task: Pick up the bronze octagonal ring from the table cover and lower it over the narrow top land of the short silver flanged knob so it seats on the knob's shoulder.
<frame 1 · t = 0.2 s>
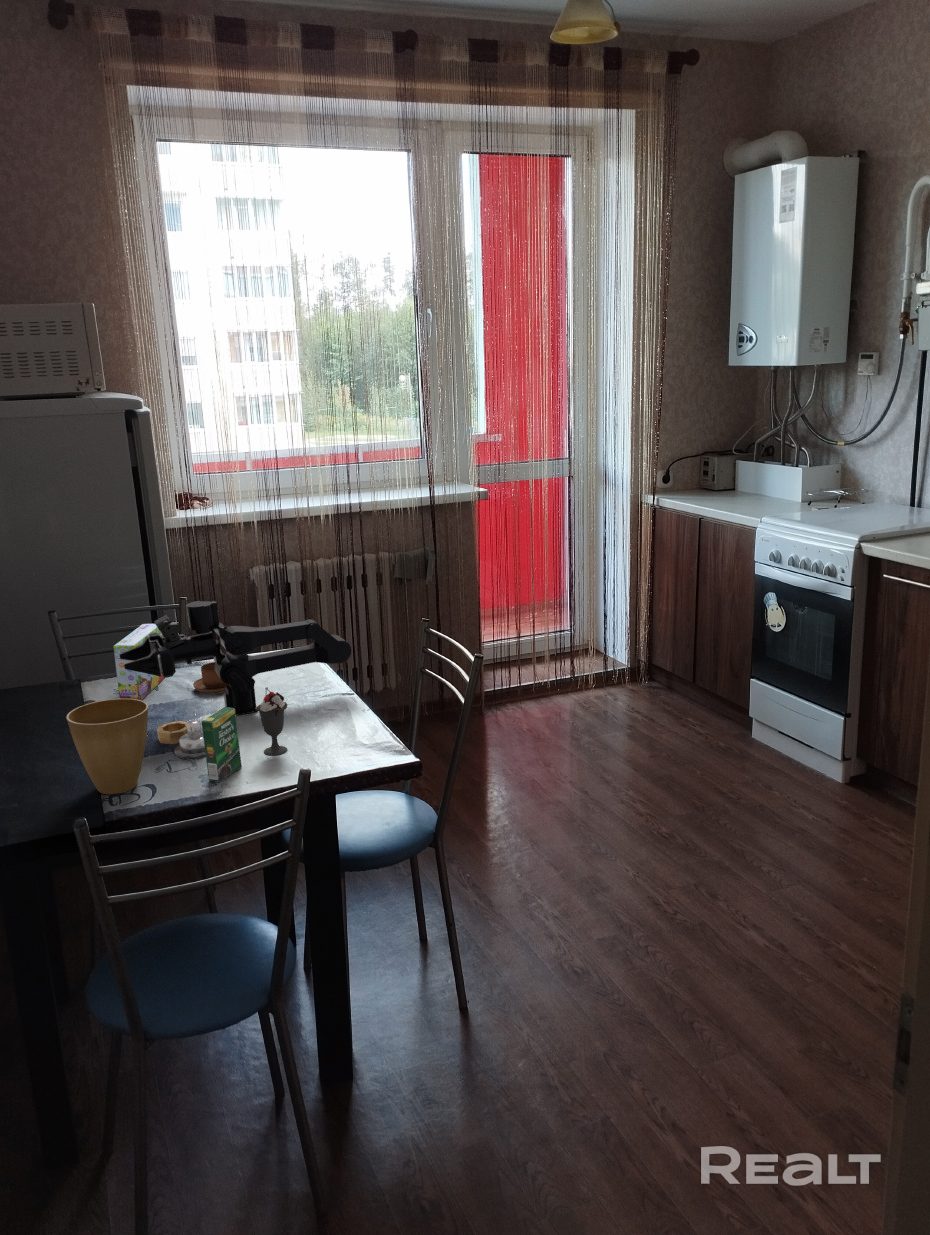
hand: (122, 661, 215), 17 cm above the table, tool horizontal, fingers open, 9 cm apart
snack box: (145, 690, 247), on the table
plant pot: (118, 787, 190), on the table
ring: (175, 737, 214), on the table
sundae: (275, 751, 204), on the table
coffee box: (225, 775, 193), on the table
cup and saucer: (218, 689, 246), on the table
silver flanged knob: (196, 750, 206), on the table
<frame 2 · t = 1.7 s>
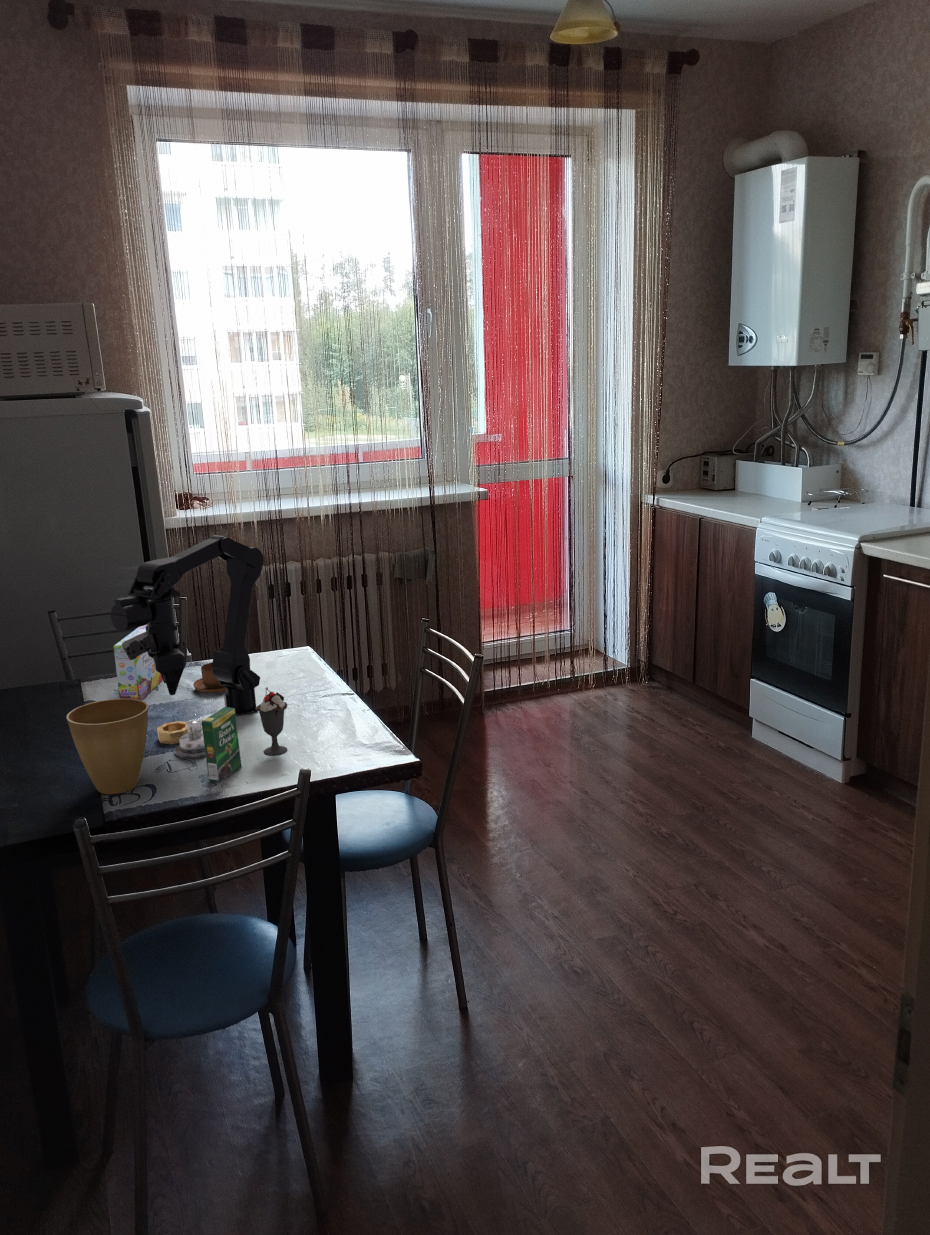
hand: (169, 688, 211), 11 cm above the table, tool pointing down, fingers open, 9 cm apart
nothing on the table moved.
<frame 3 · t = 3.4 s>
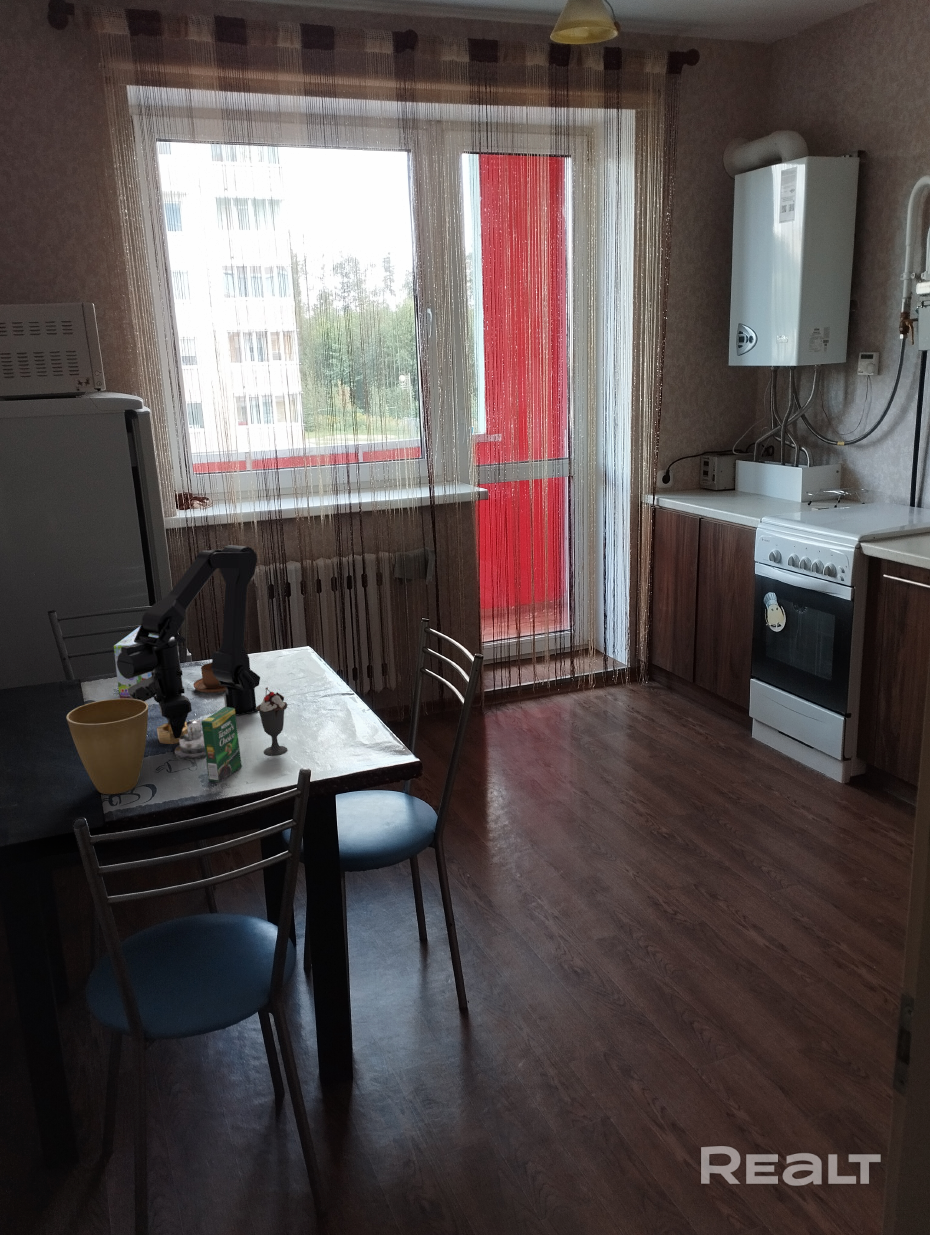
hand: (174, 732, 213), 1 cm above the table, tool pointing down, fingers closed on ring, 7 cm apart
ring: (175, 737, 214), on the table, touching gripper
everything else where it was.
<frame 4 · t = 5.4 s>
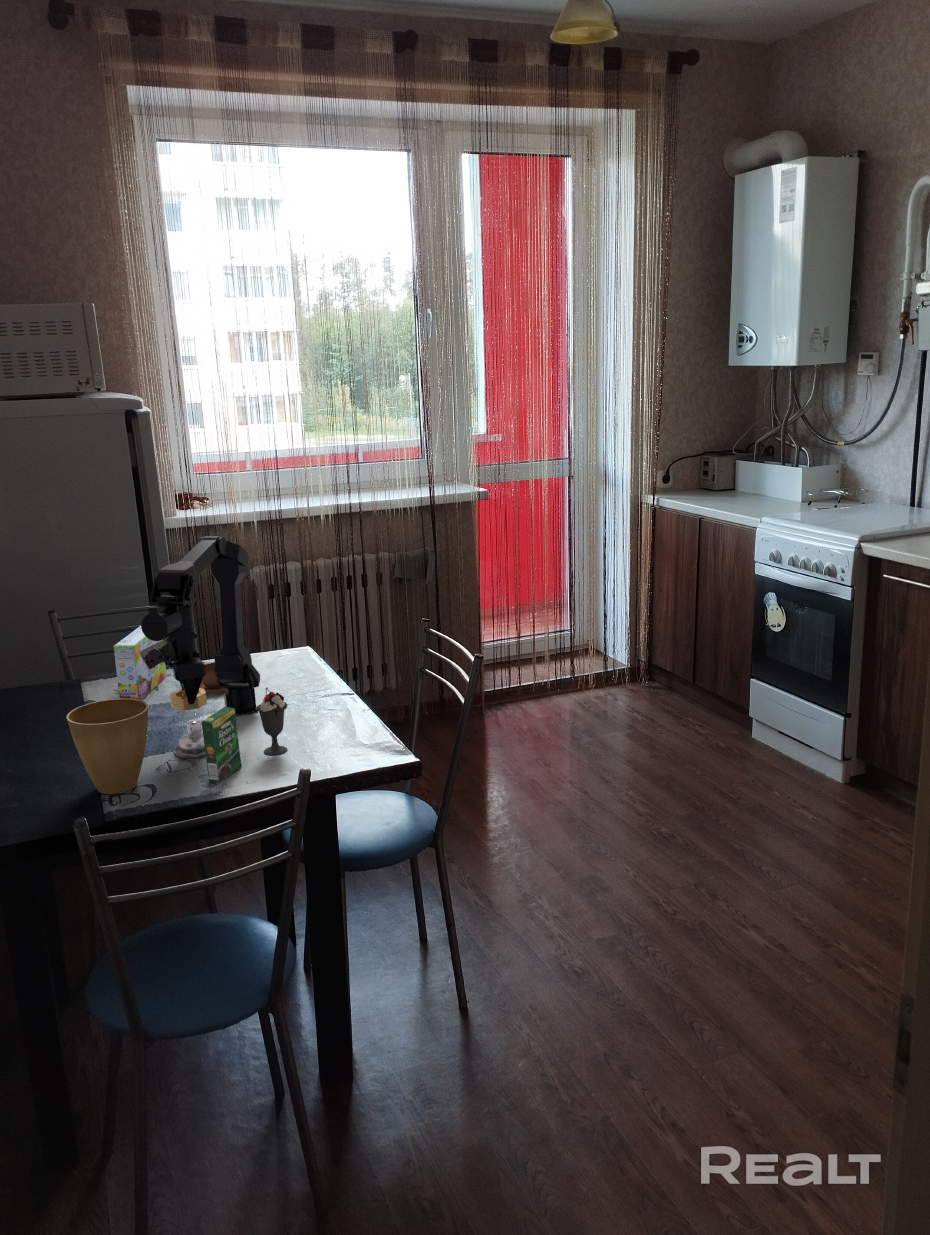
hand: (188, 698, 203), 12 cm above the table, tool pointing down, fingers closed on ring, 7 cm apart
ring: (189, 704, 204), point 10 cm above the table, touching gripper
everything else where it was.
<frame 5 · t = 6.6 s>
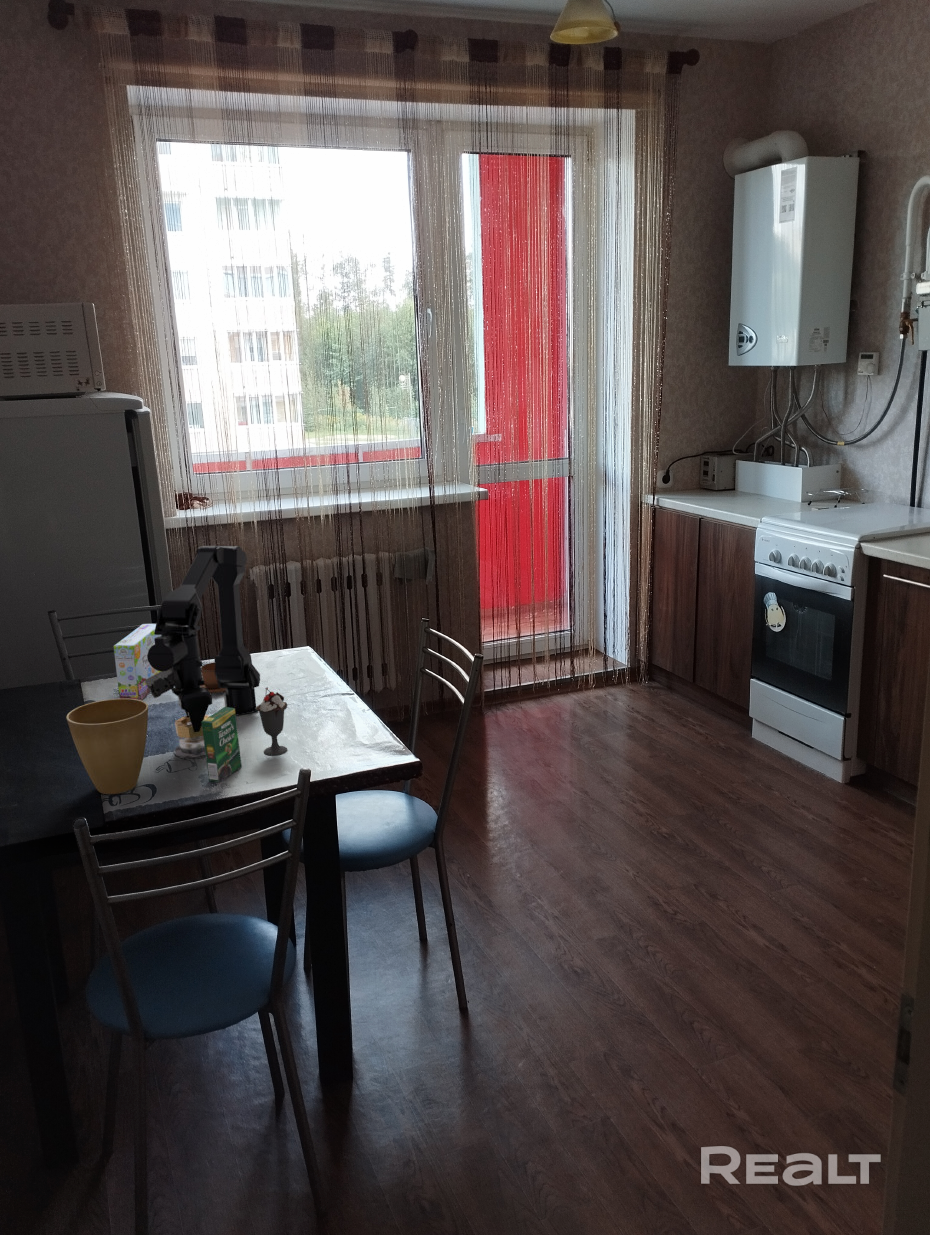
hand: (193, 726, 205), 6 cm above the table, tool pointing down, fingers closed on ring, 7 cm apart
ring: (194, 731, 205), point 4 cm above the table, touching gripper
everything else where it was.
when the fingers open (5 cm above the table, at t = 7.5 s): ring drops 1 cm, resting on silver flanged knob.
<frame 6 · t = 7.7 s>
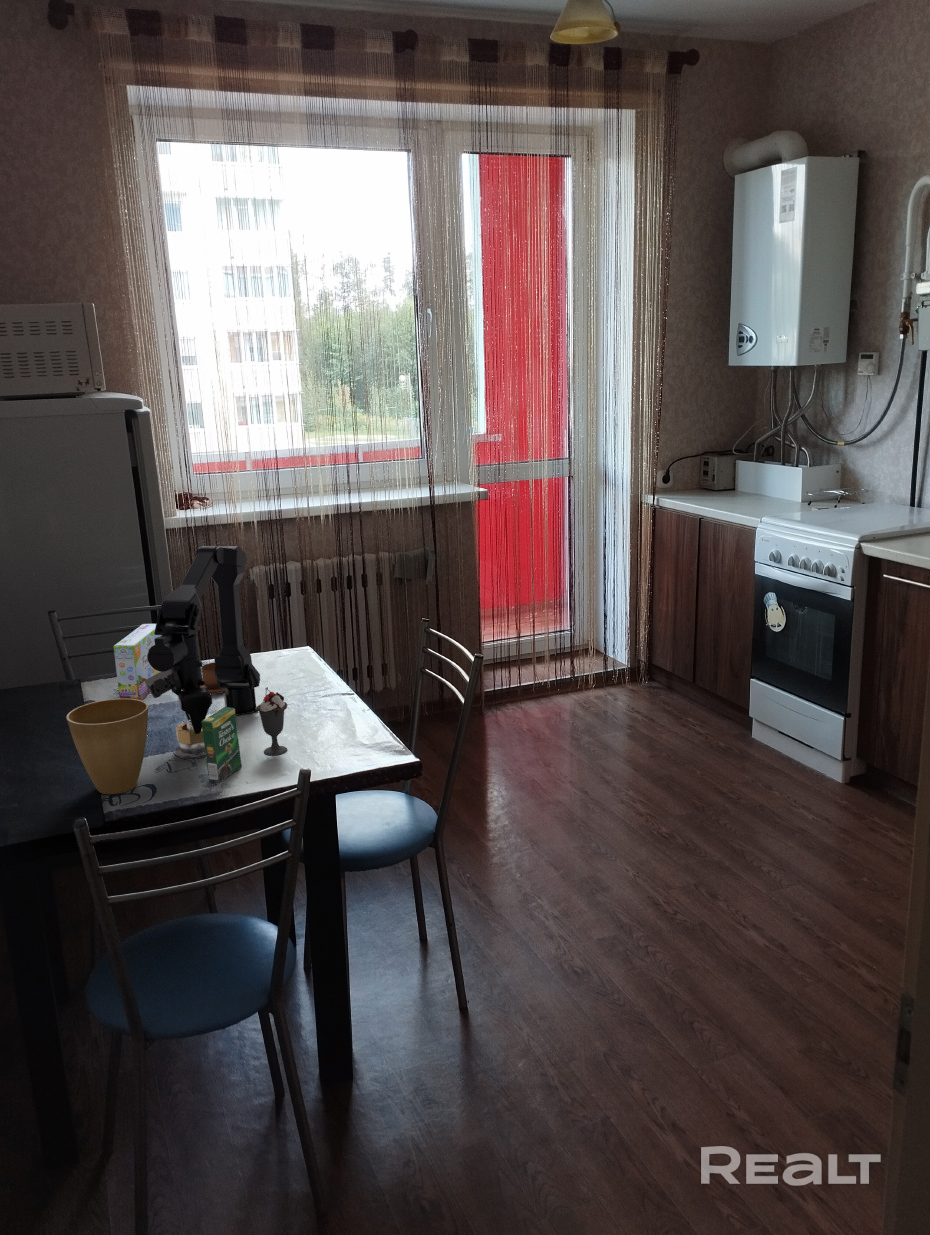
hand: (193, 726, 205), 5 cm above the table, tool pointing down, fingers open, 9 cm apart
ring: (194, 737, 205), point 3 cm above the table, touching silver flanged knob
everything else where it was.
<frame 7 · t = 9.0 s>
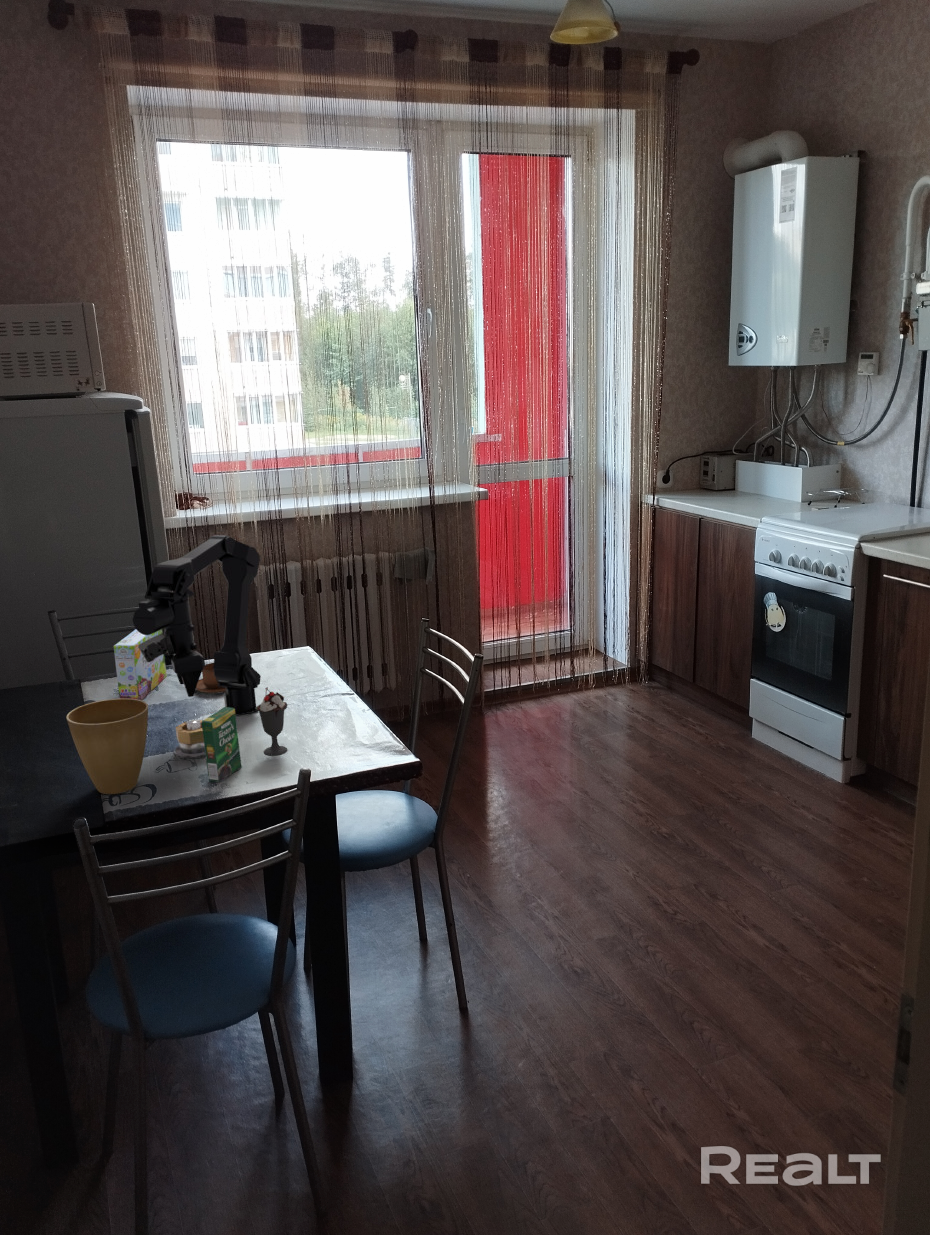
hand: (186, 690, 209), 12 cm above the table, tool pointing down, fingers open, 9 cm apart
nothing on the table moved.
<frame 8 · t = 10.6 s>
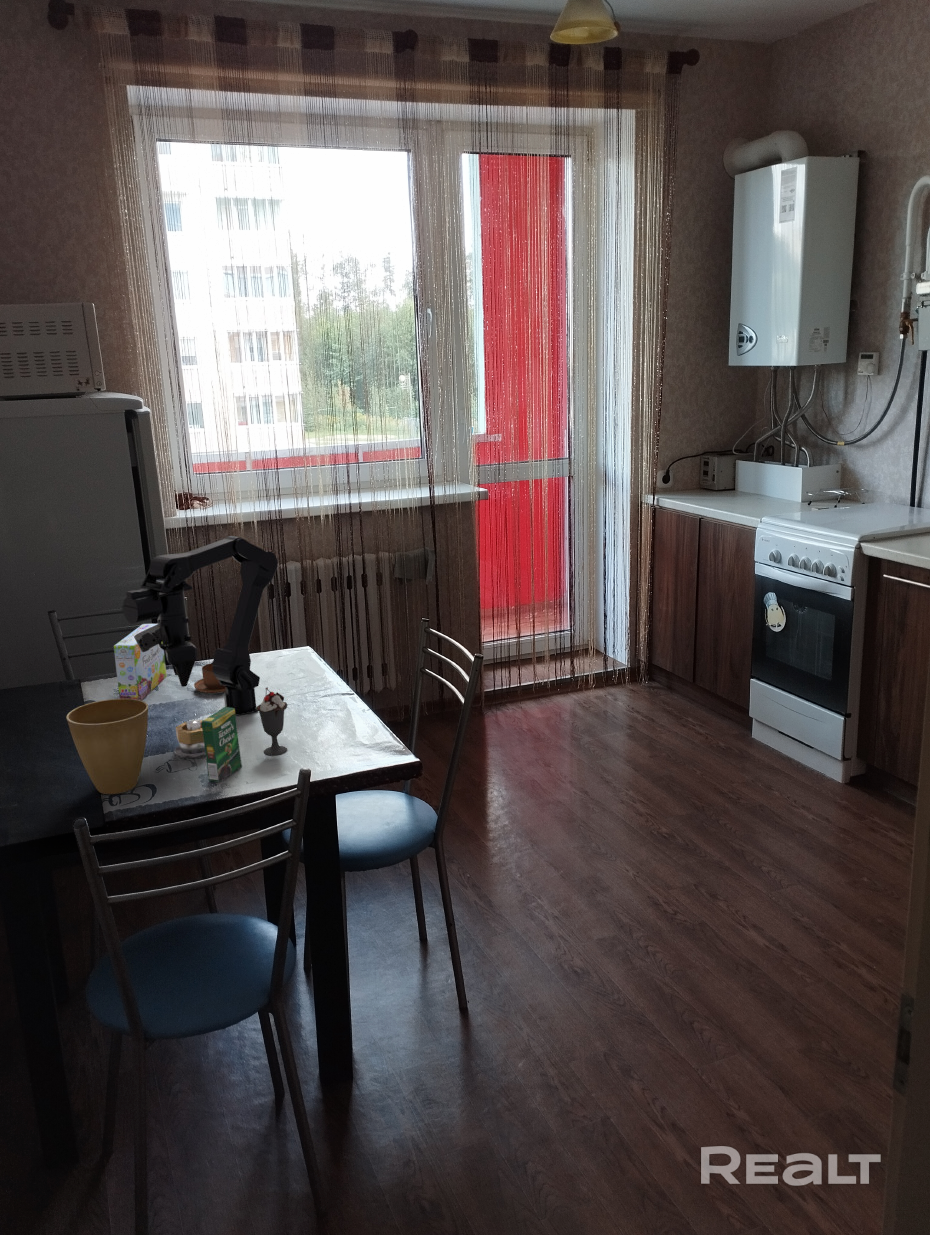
hand: (180, 680, 214), 12 cm above the table, tool pointing down, fingers open, 9 cm apart
nothing on the table moved.
at the end: ring 0.1 cm off-centre on the silver flanged knob, point 3.0 cm above the silver flanged knob's base; the gripper is holding nothing; ring tilted 0° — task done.
